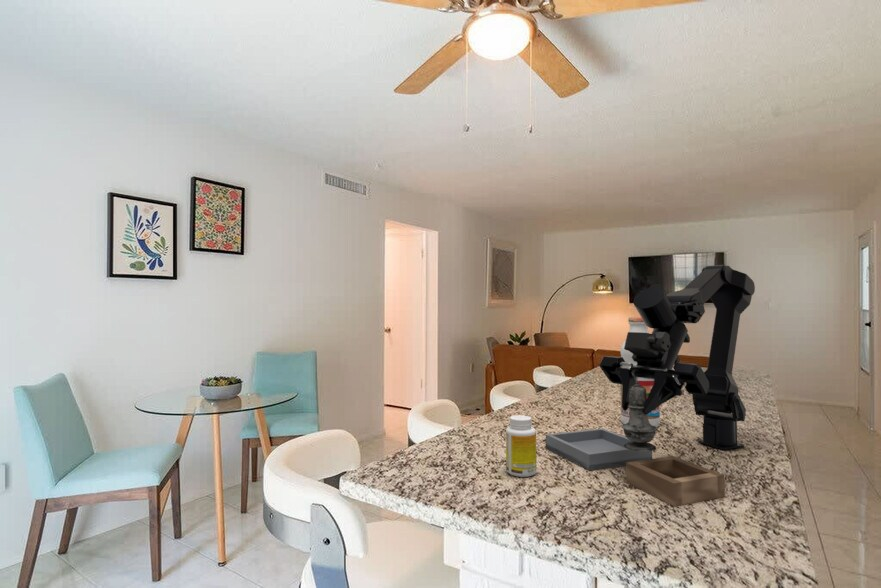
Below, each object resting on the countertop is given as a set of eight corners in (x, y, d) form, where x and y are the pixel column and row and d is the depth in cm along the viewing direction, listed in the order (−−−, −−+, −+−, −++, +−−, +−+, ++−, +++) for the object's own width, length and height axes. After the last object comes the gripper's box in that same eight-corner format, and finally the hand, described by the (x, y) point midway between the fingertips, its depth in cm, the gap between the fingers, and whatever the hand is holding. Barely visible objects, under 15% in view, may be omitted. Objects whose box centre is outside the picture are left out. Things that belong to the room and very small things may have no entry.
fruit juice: (629, 418, 129) (627, 317, 130) (665, 424, 123) (663, 317, 124) (614, 424, 123) (613, 317, 124) (652, 431, 116) (649, 318, 117)
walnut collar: (672, 475, 86) (672, 455, 86) (724, 496, 76) (724, 474, 76) (626, 482, 82) (625, 462, 82) (674, 506, 72) (673, 483, 72)
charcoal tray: (602, 441, 107) (602, 428, 107) (652, 461, 93) (652, 446, 93) (545, 448, 102) (545, 434, 102) (589, 470, 88) (589, 454, 88)
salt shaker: (658, 453, 80) (655, 382, 81) (622, 450, 82) (619, 381, 83) (657, 444, 86) (654, 378, 86) (622, 441, 88) (619, 377, 88)
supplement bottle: (542, 475, 86) (542, 419, 86) (517, 480, 84) (517, 422, 84) (524, 466, 91) (524, 413, 91) (500, 470, 89) (499, 416, 89)
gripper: (603, 315, 95) (569, 376, 88) (699, 316, 80) (668, 390, 73) (626, 352, 99) (596, 412, 92) (721, 359, 84) (694, 432, 77)
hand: (633, 411), depth 84 cm, fingers closed on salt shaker, 4 cm apart
